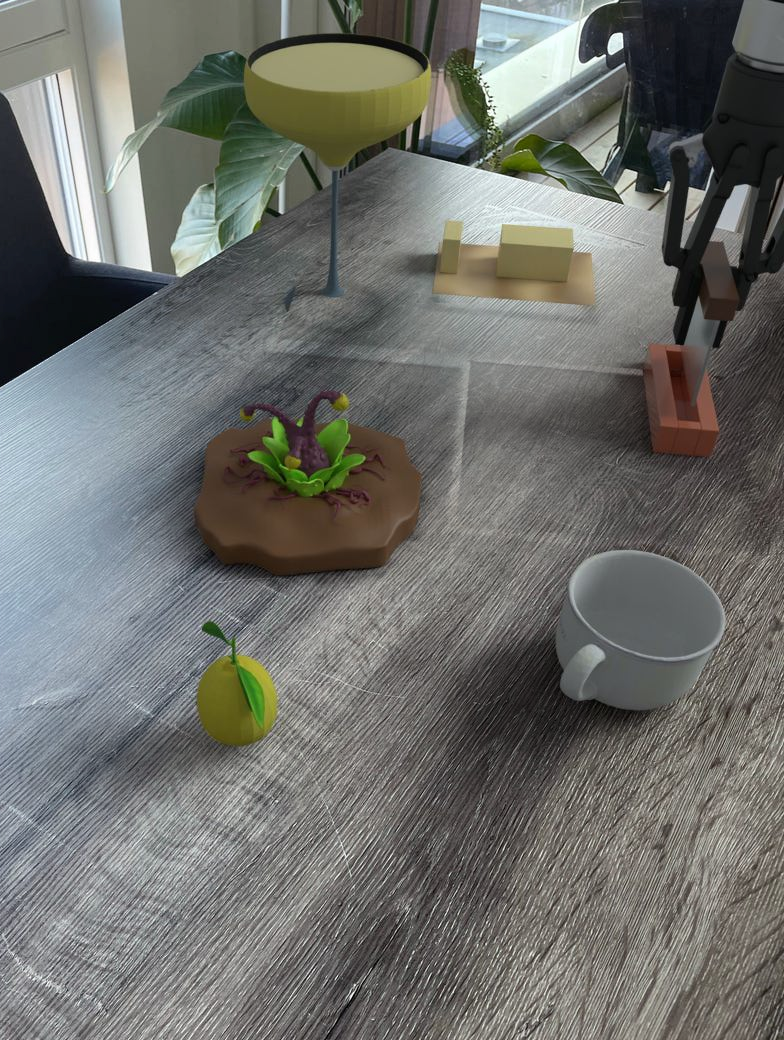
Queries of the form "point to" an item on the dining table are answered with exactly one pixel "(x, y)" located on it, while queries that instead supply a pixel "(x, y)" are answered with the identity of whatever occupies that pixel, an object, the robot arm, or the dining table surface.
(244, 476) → the plant
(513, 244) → the butter
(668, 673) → the teacup
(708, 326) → the knife
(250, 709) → the lemon
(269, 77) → the cocktail glass
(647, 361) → the knife stand
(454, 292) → the board
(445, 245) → the butter slice
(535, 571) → the dining table surface
